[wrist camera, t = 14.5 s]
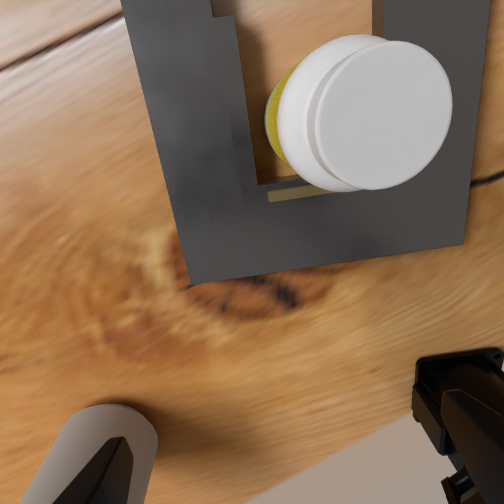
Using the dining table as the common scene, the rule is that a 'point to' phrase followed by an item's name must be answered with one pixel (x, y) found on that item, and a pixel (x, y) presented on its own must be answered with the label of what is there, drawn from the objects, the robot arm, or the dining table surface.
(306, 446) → the dining table surface
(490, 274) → the dining table surface
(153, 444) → the can
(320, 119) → the supplement bottle
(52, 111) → the dining table surface
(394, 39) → the keyhole plate
